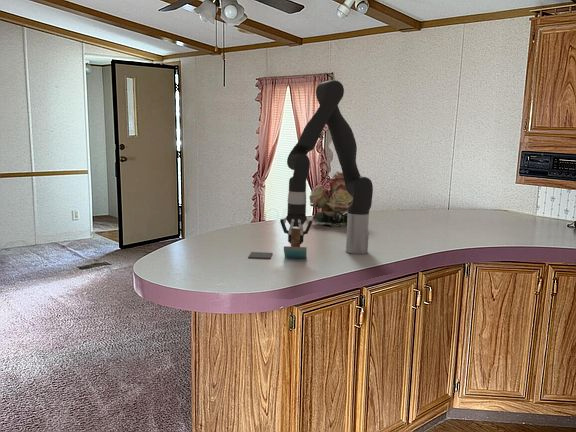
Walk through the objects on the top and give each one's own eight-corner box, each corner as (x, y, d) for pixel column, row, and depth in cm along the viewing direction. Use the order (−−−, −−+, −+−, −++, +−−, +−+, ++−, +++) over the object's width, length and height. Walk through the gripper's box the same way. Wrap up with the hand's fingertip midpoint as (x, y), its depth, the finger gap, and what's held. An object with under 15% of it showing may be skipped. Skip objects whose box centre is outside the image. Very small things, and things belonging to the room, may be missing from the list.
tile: (306, 254, 218) (306, 247, 210) (306, 258, 218) (306, 251, 209) (284, 253, 219) (283, 246, 211) (284, 257, 218) (283, 250, 210)
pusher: (300, 246, 220) (300, 227, 219) (299, 248, 217) (300, 229, 216) (291, 246, 221) (292, 227, 219) (290, 248, 217) (291, 229, 216)
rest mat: (272, 254, 223) (272, 252, 223) (270, 259, 214) (270, 257, 214) (251, 253, 224) (251, 251, 224) (248, 258, 215) (248, 256, 215)
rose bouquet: (302, 221, 310) (304, 170, 305) (345, 219, 322) (347, 169, 318) (324, 228, 287) (326, 173, 283) (369, 226, 300) (372, 173, 295)
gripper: (314, 201, 219) (313, 242, 222) (280, 200, 220) (279, 241, 223) (314, 204, 212) (312, 246, 214) (278, 202, 213) (277, 244, 215)
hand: (295, 243), depth 218 cm, fingers closed on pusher, 3 cm apart
